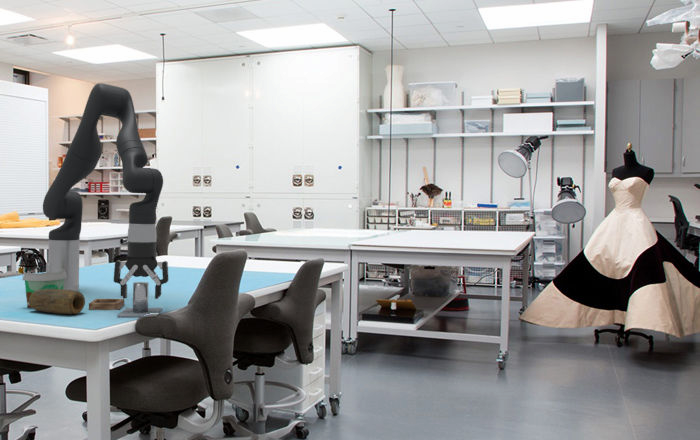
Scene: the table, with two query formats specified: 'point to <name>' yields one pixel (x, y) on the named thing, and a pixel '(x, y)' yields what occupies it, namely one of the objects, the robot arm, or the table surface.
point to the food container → (43, 282)
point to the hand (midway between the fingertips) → (141, 298)
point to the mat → (129, 313)
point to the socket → (106, 304)
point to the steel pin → (140, 297)
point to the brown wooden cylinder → (57, 301)
